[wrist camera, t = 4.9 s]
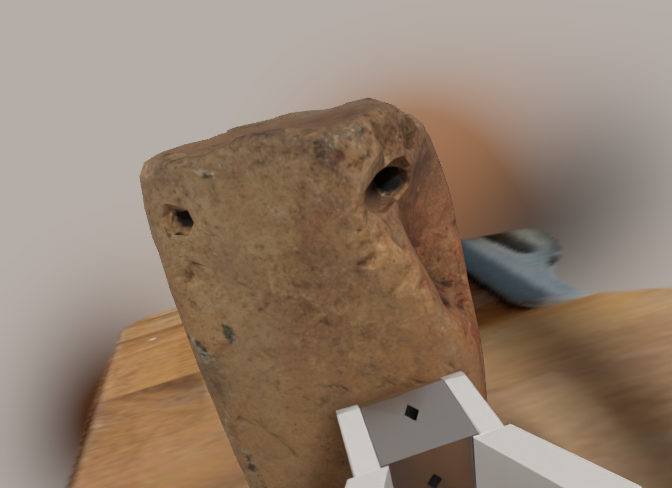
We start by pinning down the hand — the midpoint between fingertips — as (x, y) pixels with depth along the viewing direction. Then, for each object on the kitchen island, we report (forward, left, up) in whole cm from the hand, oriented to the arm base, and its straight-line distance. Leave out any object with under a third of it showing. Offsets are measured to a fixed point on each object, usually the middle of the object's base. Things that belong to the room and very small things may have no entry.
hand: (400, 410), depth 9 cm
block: (0, -7, -14) cm, 16 cm away
